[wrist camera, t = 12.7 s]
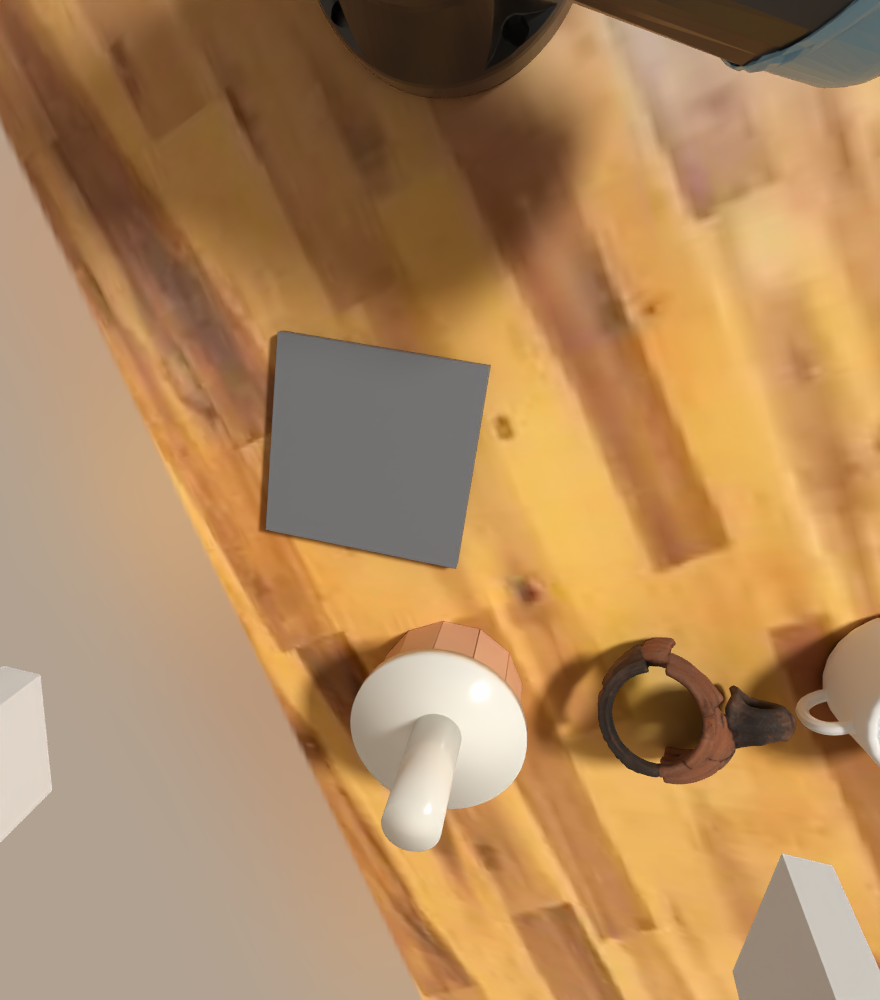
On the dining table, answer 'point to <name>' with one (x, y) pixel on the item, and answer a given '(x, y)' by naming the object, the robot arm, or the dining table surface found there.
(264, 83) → the dining table surface
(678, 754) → the broken pottery
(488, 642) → the bowl
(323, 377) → the mat
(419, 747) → the lid
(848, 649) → the mug
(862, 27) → the robot arm
